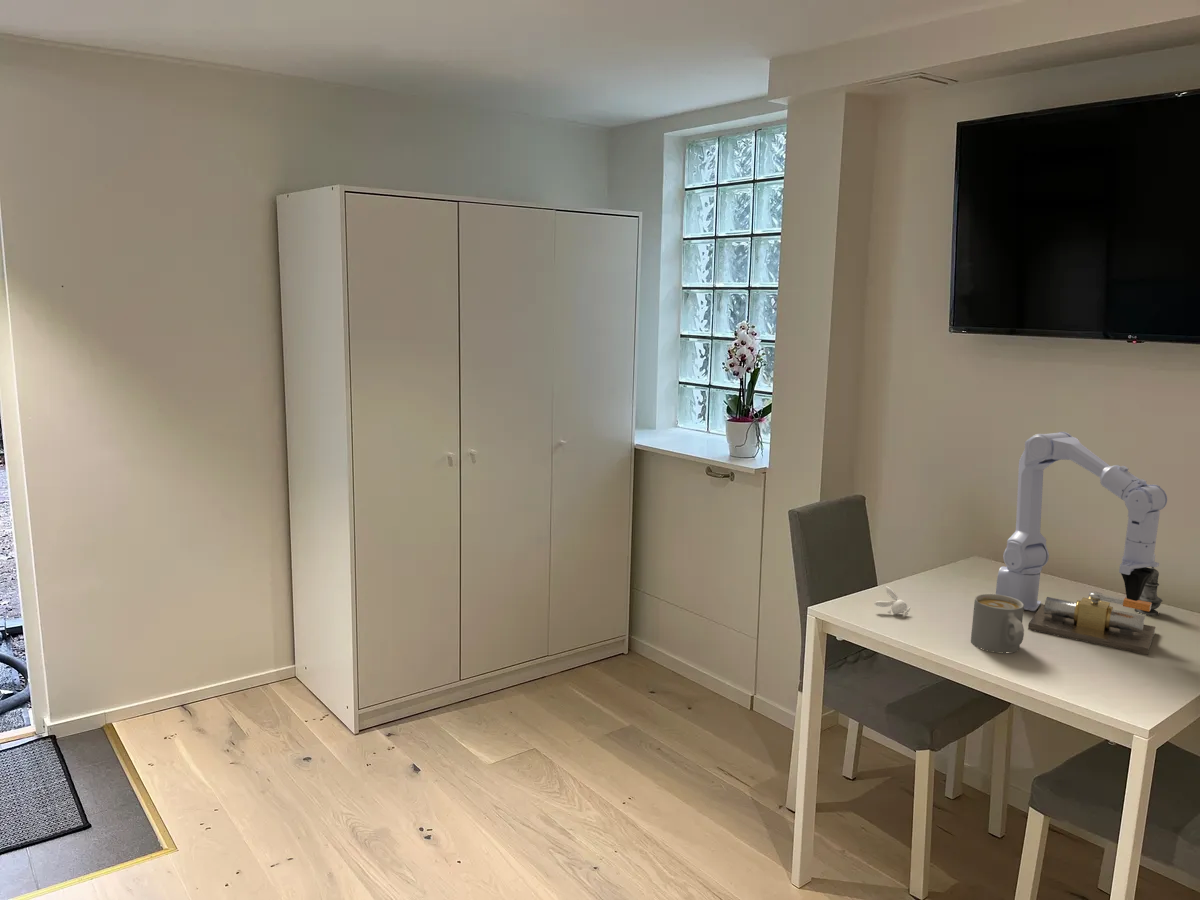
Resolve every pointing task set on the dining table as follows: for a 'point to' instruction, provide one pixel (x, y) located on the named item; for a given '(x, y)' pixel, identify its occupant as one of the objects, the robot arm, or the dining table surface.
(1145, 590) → the salt shaker
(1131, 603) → the valve lever
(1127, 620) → the valve manifold
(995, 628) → the coffee mug
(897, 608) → the rabbit figurine
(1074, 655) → the dining table surface
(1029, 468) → the robot arm
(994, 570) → the dining table surface
